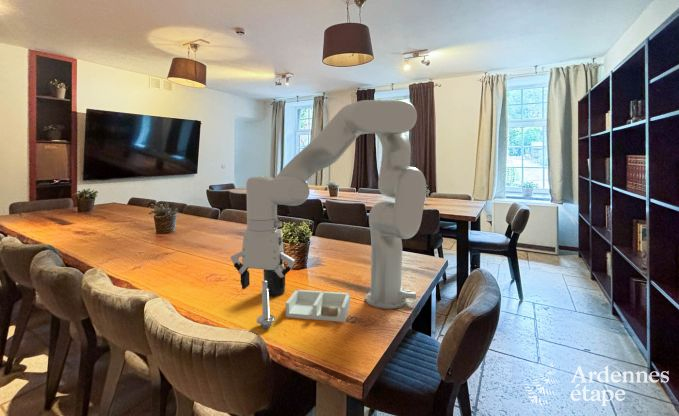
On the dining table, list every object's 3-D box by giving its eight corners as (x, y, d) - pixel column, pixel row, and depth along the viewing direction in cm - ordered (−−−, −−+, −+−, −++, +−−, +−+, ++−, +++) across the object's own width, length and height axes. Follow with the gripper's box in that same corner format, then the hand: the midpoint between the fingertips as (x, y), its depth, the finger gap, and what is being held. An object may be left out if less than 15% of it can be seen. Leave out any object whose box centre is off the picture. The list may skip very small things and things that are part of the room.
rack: (350, 306, 102) (350, 293, 101) (344, 322, 92) (344, 307, 91) (296, 302, 105) (296, 289, 104) (285, 317, 95) (285, 303, 94)
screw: (278, 323, 91) (268, 332, 87) (263, 320, 93) (253, 328, 88) (277, 278, 89) (267, 284, 85) (262, 275, 91) (251, 281, 86)
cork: (337, 307, 92) (336, 316, 92) (338, 306, 95) (338, 315, 94) (321, 306, 93) (320, 315, 93) (323, 305, 95) (322, 314, 95)
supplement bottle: (273, 287, 117) (272, 254, 115) (289, 291, 113) (288, 257, 112) (259, 294, 111) (258, 259, 109) (275, 298, 108) (274, 262, 106)
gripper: (298, 224, 88) (298, 286, 90) (237, 220, 91) (238, 281, 93) (289, 229, 80) (289, 297, 83) (223, 225, 83) (225, 291, 86)
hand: (262, 288), depth 88 cm, fingers open, 9 cm apart
